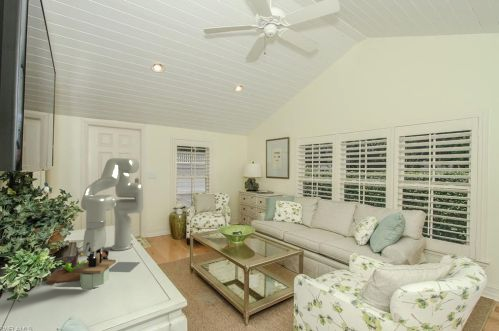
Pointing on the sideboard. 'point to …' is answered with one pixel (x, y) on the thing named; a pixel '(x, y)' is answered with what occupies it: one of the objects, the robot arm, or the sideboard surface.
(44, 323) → the sideboard surface
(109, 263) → the lid
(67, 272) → the plant
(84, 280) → the bowl
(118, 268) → the mat
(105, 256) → the brown animal figurine
